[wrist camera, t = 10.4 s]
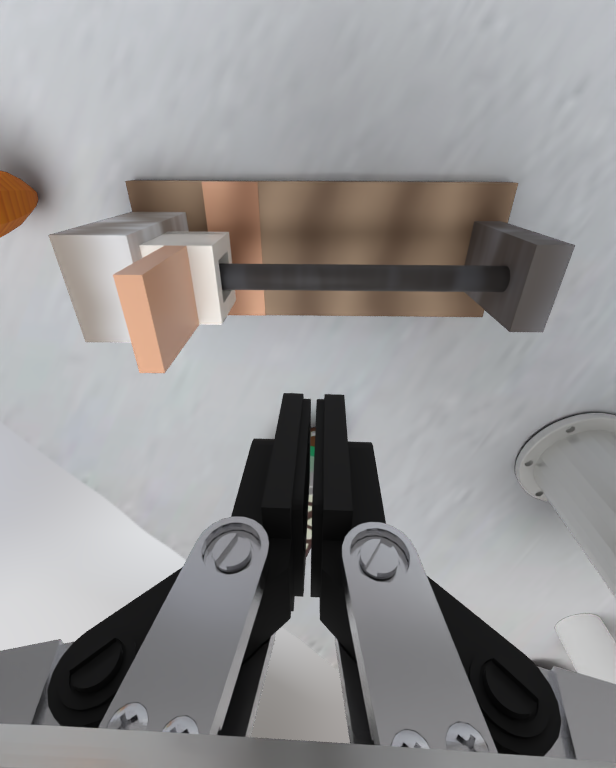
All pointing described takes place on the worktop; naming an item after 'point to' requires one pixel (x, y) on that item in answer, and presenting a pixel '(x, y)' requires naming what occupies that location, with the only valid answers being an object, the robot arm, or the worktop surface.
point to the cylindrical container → (589, 646)
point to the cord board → (330, 250)
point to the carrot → (14, 202)
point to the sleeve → (173, 294)
